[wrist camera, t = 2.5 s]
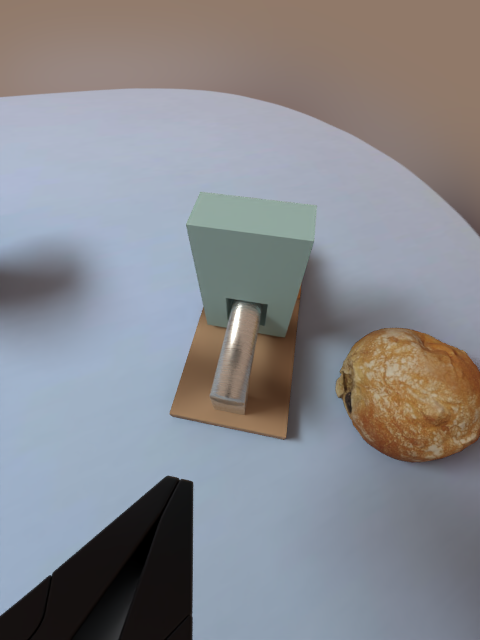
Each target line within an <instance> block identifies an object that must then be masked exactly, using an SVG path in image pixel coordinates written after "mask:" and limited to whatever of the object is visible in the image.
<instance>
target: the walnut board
mask: <svg viewBox="0 0 480 640" xmlns="http://www.w3.org/2000/svg"><path fill="white" fill-rule="evenodd" d="M301 284H302V283H301ZM300 294H301V286H300V289H299V293H298V296H297V299H296V303H295V306H294V309H293V313H292V316H291V319H290V323H289V326H288V329H287V333H286V336H285V338H284V337H278V336H273V335H267V334H261V333H258V335H257V341H256V346H255V352H254V357H253V363H252V368H251V373H250V379H249V388H248V398H247V404H246V409H245V415H241V414H236V413H231V412H226V411H221V410H216V409H214V407H213V405H212V402H211V399H210V392H211V388H212V384H213V380H214V376H215V372H216V368H217V364H218V360H219V357H220V353H221V349H222V345H223V341H224V337H225V333H226V329H227V328H225V327H219V326H213V325H208V324H207V320H206V315H205V310H204V307H203V310H202V313H201V316H200V319H199V323H198V326H197V329H196V332H195V335H194V338H193V341H192V345H191V348H190V351H189V354H188V357H187V360H186V363H185V367H184V370H183V373H182V376H181V379H180V382H179V385H178V388H177V392H176V395H175V398H174V401H173V404H172V407H171V410H170V415H171V416H173V417H177V418H182V419H187V420H192V421H197V422H201V423H206V424H211V425H216V426H221V427H225V428H230V429H235V430H240V431H245V432H249V433H254V434H259V435H264V436H269V437H273V438H278V439H283V440H284V439H285V438H286V433H287V423H288V412H289V402H290V392H291V382H292V372H293V362H294V352H295V342H296V332H297V322H298V312H299V302H300Z"/></svg>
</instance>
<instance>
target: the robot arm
mask: <svg viewBox="0 0 480 640" xmlns="http://www.w3.org/2000/svg"><path fill="white" fill-rule="evenodd" d="M192 601H193V482H192V481H189V480H185V479H181V480H180V479H179V478H176V477H172V476H166V477H165V478H163V479H162V480H161V481H160V482H159V483H158V484H156V485H155V486H154V487H153V488H152V489H151V490H149V491H148V492H147V493H146V494H145V495H143V496H142V497H141V498H140V499H139V500H138V501H136V502H135V503H134V504H133V505H132V506H131V507H129V508H128V509H127V510H126V511H125V512H123V513H122V514H121V515H120V516H119V517H118V518H116V519H115V520H114V521H113V522H112V523H111V524H109V525H108V526H107V527H106V528H105V529H103V530H102V531H101V532H100V533H99V534H98V535H96V536H95V537H94V538H93V539H92V540H91V541H89V542H88V543H87V544H86V545H85V546H83V547H82V548H81V549H80V550H79V551H78V552H76V553H75V554H74V555H73V556H72V557H71V558H69V559H68V560H67V561H66V562H65V563H63V564H62V565H61V566H60V567H59V568H58V569H56V570H55V571H54V572H53V574H52V576H51V575H49V576H48V577H47V578H46V579H44V580H43V581H42V582H41V583H40V584H39V585H37V586H36V587H35V588H34V589H33V590H31V591H30V592H29V593H28V594H27V595H25V596H24V597H23V598H22V599H20V600H19V601H18V602H17V603H16V604H14V605H13V606H12V607H11V608H9V609H8V610H7V611H6V612H5V613H3V614H2V615H1V616H0V640H192V626H193V618H192Z"/></svg>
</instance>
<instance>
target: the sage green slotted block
mask: <svg viewBox="0 0 480 640" xmlns="http://www.w3.org/2000/svg"><path fill="white" fill-rule="evenodd" d="M316 208H317V206H316V205H308V204H299V203H291V202H282V201H274V200H265V199H257V198H248V197H240V196H231V195H222V194H214V193H205V192H200V194H199V196H198V199H197V201H196V203H195V205H194V208H193V210H192V212H191V214H190V217H189V219H188V221H187V224H186V227H187V231H188V236H189V241H190V245H191V250H192V255H193V259H194V264H195V269H196V273H197V278H198V283H199V287H200V292H201V296H202V301H203V306H204V310H205V315H206V320H207V324H208V325H213V326H219V327H225V328H227V325H228V321H229V317H230V313H231V309H232V305H233V301H234V299H236V300H243V301H249V302H255V303H262V304H263V308H262V313H261V319H260V324H259V330H258V333H261V334H267V335H273V336H278V337H284V338H285V336H286V333H287V329H288V326H289V323H290V319H291V316H292V313H293V309H294V306H295V303H296V299H297V296H298V293H299V289H300V286H301V283H302V279H303V276H304V273H305V270H306V266H307V263H308V260H309V256H310V253H311V250H312V246H313V243H314V235H315V222H316Z"/></svg>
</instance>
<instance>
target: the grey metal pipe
mask: <svg viewBox="0 0 480 640" xmlns="http://www.w3.org/2000/svg"><path fill="white" fill-rule="evenodd" d="M262 308H263V304H262V303H255V302H249V301H243V300H236V299H234V301H233V305H232V309H231V313H230V317H229V321H228V325H227V329H226V333H225V337H224V341H223V345H222V349H221V353H220V357H219V360H218V364H217V368H216V372H215V376H214V380H213V384H212V388H211V392H210V399H211V402H212V405H213V407H214V409H216V410H221V411H226V412H231V413H236V414H241V415H245V409H246V404H247V398H248V388H249V379H250V373H251V368H252V363H253V357H254V352H255V346H256V341H257V335H258V330H259V324H260V319H261V313H262Z"/></svg>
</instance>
